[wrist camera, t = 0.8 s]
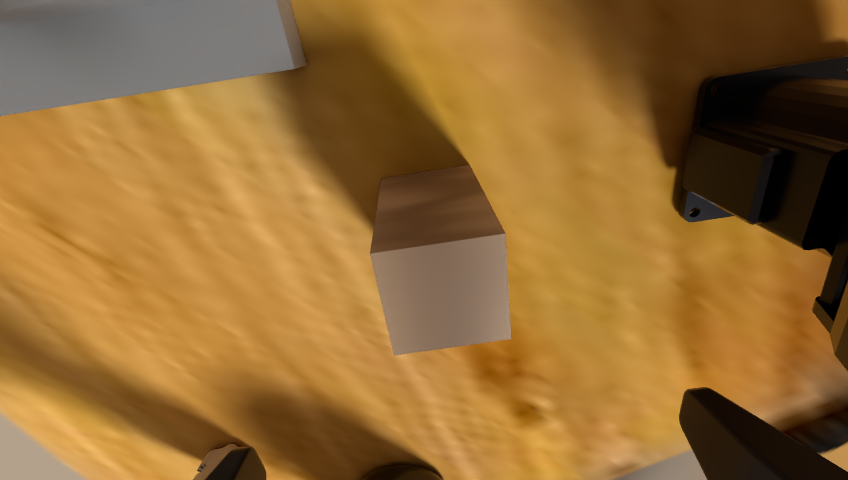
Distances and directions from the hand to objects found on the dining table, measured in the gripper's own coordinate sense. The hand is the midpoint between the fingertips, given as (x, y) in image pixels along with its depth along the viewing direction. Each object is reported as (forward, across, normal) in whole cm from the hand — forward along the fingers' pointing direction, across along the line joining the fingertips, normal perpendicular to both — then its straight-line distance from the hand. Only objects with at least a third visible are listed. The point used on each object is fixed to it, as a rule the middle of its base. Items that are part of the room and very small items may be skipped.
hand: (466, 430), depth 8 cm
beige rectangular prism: (+12, 0, 0) cm, 12 cm away
